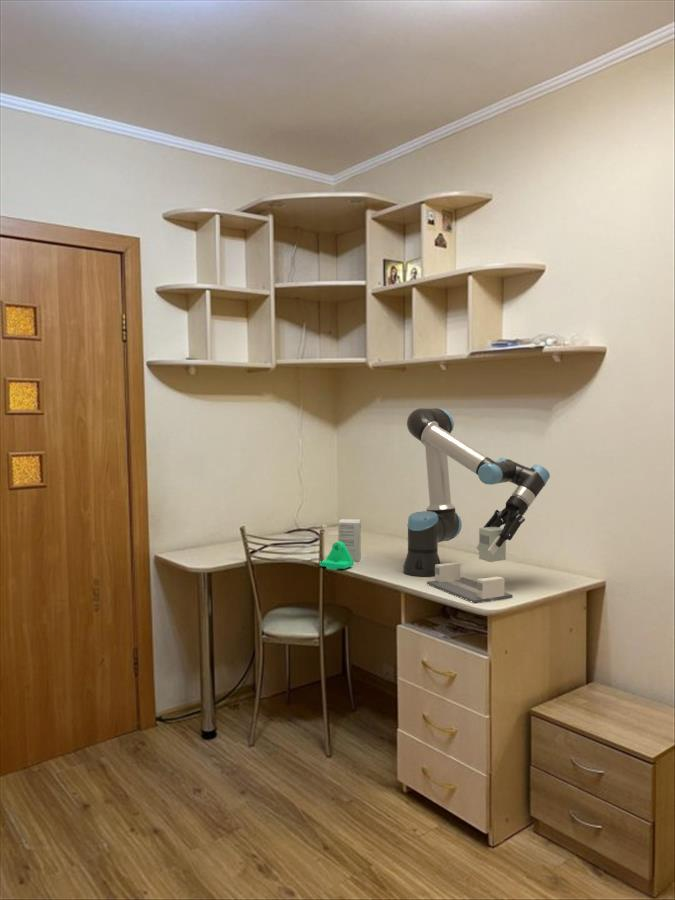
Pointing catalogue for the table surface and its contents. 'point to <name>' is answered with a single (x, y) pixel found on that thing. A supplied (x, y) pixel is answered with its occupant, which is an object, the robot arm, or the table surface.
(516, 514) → the robot arm
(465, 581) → the rail plate
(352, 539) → the supplement box
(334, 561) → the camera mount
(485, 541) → the block
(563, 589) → the table surface
